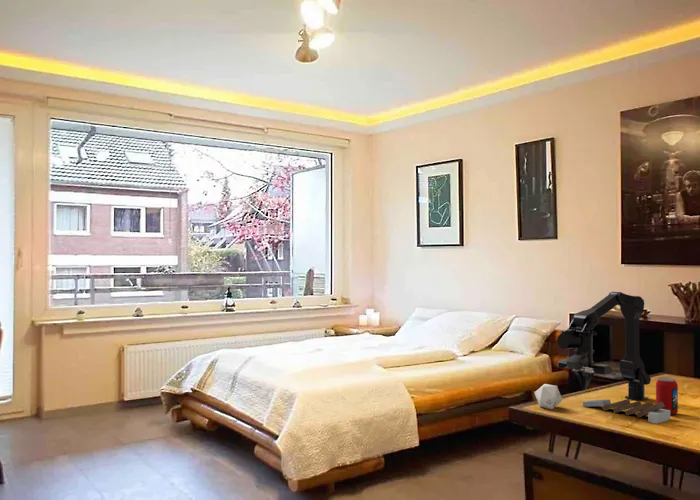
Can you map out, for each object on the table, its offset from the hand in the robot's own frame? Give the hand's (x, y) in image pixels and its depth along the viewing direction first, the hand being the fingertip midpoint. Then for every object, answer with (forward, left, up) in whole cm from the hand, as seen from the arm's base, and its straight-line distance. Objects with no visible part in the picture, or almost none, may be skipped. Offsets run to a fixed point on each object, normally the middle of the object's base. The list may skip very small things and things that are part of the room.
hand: (584, 389), depth 225 cm
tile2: (0, +13, -5) cm, 14 cm away
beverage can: (-12, +24, -6) cm, 28 cm away
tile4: (0, +21, -5) cm, 22 cm away
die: (+14, -6, -6) cm, 16 cm away
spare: (0, +1, -5) cm, 5 cm away
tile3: (0, +17, -5) cm, 18 cm away
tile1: (0, +9, -5) cm, 10 cm away
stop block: (0, +27, -6) cm, 28 cm away
